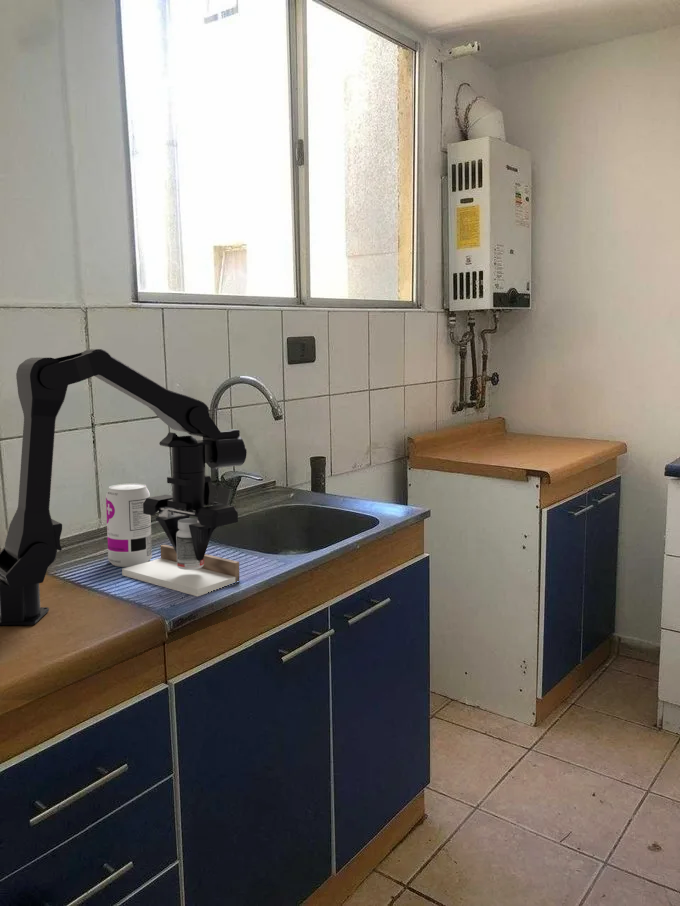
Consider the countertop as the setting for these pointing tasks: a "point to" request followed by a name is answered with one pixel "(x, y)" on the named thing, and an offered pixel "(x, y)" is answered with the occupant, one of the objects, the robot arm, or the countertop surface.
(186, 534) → the pill bottle
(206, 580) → the shelf board
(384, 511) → the countertop surface
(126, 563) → the supplement can
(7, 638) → the countertop surface
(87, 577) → the countertop surface
